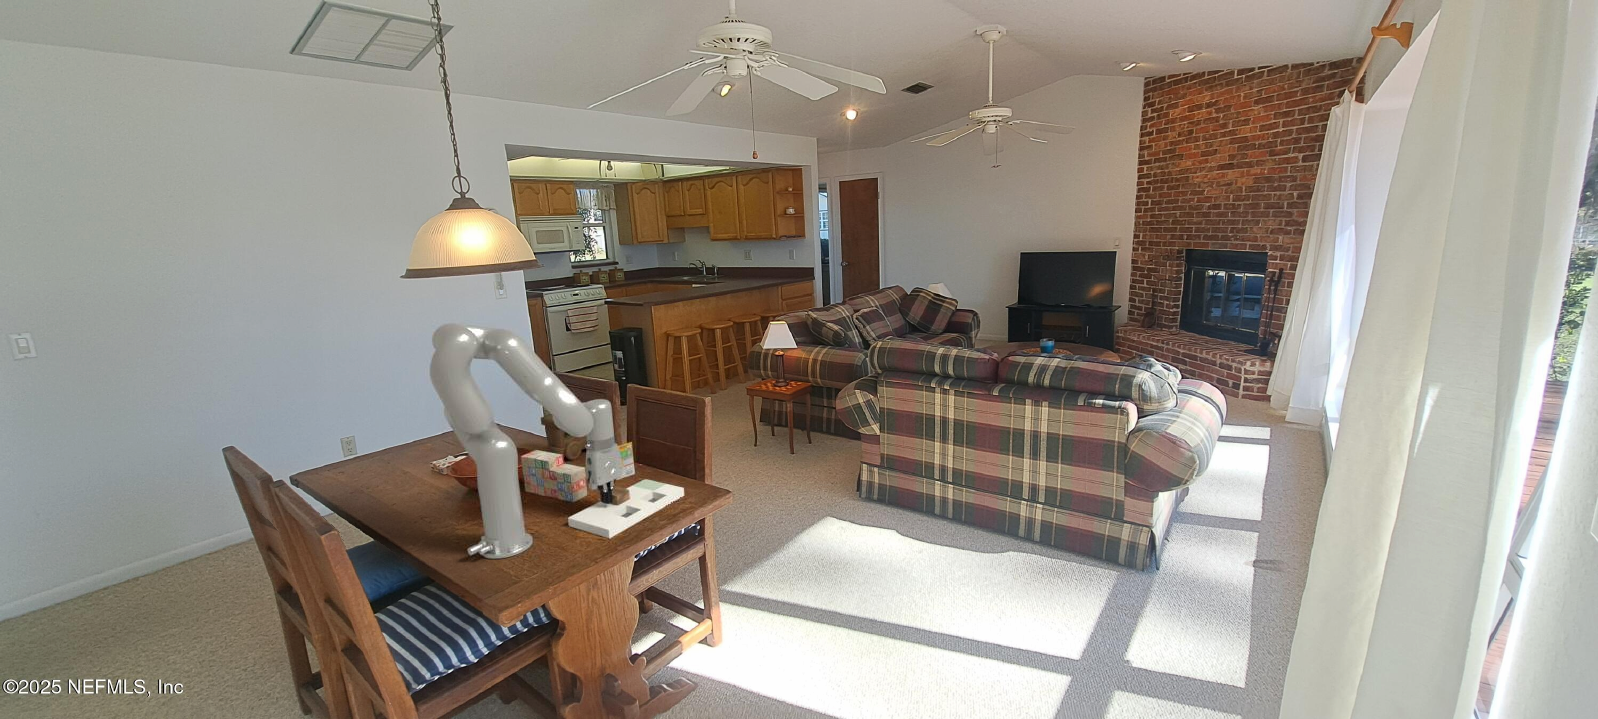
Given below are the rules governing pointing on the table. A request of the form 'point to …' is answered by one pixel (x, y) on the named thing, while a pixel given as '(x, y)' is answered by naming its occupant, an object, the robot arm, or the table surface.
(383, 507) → the table surface
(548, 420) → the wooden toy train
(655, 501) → the trap board
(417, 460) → the table surface
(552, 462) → the stack of blocks
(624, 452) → the crayon box
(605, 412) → the robot arm
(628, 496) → the walnut block
